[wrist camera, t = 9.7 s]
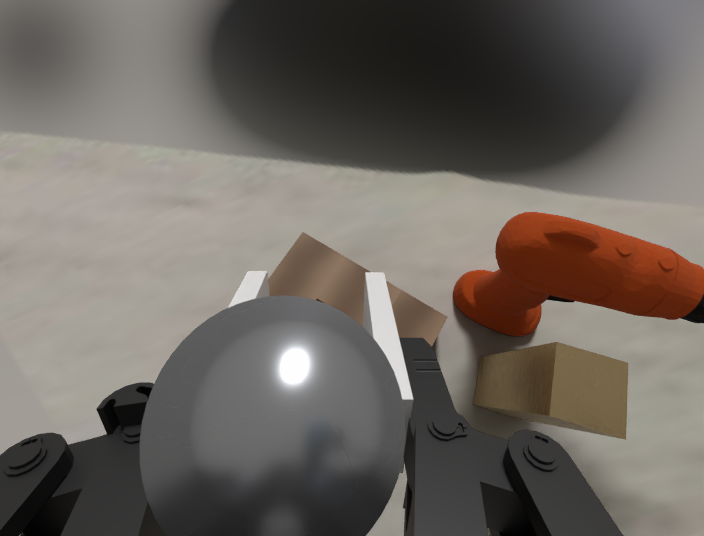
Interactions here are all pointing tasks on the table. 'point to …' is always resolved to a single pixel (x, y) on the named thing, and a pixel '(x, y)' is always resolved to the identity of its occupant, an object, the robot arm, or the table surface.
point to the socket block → (347, 288)
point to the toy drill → (577, 275)
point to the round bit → (273, 425)
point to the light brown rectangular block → (556, 388)
